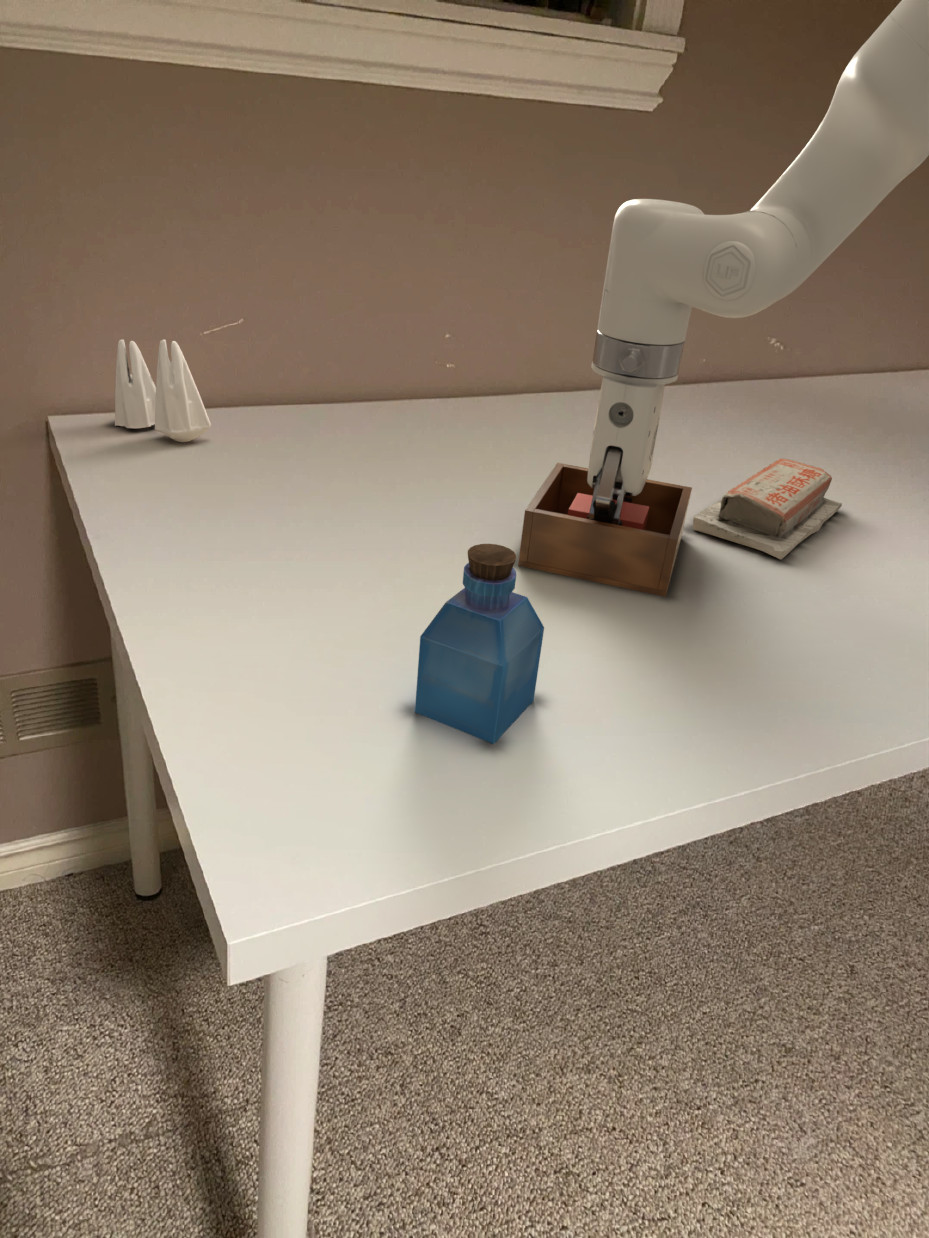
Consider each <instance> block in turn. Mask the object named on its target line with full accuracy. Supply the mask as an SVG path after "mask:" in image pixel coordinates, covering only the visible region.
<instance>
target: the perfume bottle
mask: <svg viewBox="0 0 929 1238" xmlns="http://www.w3.org/2000/svg"><path fill="white" fill-rule="evenodd" d="M467 559H468V563H466V564H465V565H464V566H463V572H462V573H463V574H462V575H463V576H462V585H463V587H464V588H462V589H461V590H460V591H458V592H457V593H455V594H454V595H453V596H452V597H450V598H449V599H447V600H446V601H445V603H444V604H443V605H442V607H441V608H440V609H439V611H438V612H437V613H436V614H435V616H434V617H433V618H432V620H431V621H430V623H429V624H428V625H427V627H426V628H425V629H424V631H423V632H422V634H421V635H420V637H419V647H418V648H419V649H418V663H417V664H418V665H417V674H416V675H417V676H416V691H415V704H414V713H416V714H417V715H419V716H422V717H425V718H427V719H430V720H433V721H435V722H437V723H440V724H443V725H445V726H447V727H450V728H453V729H455V730H457V731H460V732H463V733H464V734H467V735H470V736H472V737H475V738H478V739H480V740H483V741H485V742H487V743H490V744H493V745H495V744H496V743H497V742H498V740H499V739H501V738H502V736H503V735H504V733H506V732H507V731H508V730H509V728H510V727H511V726H512V725H513V724H514V723H515V722H516V721H517V720H518V718H520V717H521V715H523V713H524V712H525V711H526V710H527V709H528V708H529V707H530V705H532V704H533V702H534V700H535V694H536V689H537V680H538V673H539V667H540V659H541V652H542V646H543V641H544V640H543V639H544V634H545V633H544V632H545V626H544V624H543V623H542V621H541V619H540V617H539V616H538V614H537V612H536V610H535V608H534V607H533V605H532V603H531V601H530V600H529V598H528V596H525V595H522V594H519V593H516V592H514V590H515V589H516V580H517V571H516V569H515V568H514V565H515V563H516V561H517V554H516V553H515V551H514V550H512V549H511V548H509V547H506V546H504V545H501V544H497V543H479V544H474V545H473V546H470V547H469V548H468V549H467Z"/></svg>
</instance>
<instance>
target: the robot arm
mask: <svg viewBox="0 0 929 1238" xmlns="http://www.w3.org/2000/svg"><path fill="white" fill-rule="evenodd" d="M806 143H807V144H806V145H805V146H804V147H803V148H802V150H801V151H800V152H799V154H798V155H797V156H796V157H795V159H794V160H793V161H792V162H791V163H790V165H789V166H788V167H787V168H786V169H785V171H784V172H783V173H782V174H781V176H779V178H778V179H777V180H776V181H775V182H774V183H773V184H772V185H771V187H770V188H768V190H767V191H766V192H765V193H764V195H763V196H762V197H761V198H760V199H758V201H757V202H756V203H755V204H754V206H753V207H751V209H750V210H747V211H743V212H740V213H732V214H705V212H703V211H702V209H700V208H699V207H697V206H695V205H692V204H689V203H684V202H680V201H674V200H673V201H672V200H666V199H665V200H664V199H656V198H655V199H654V198H634V199H633V198H632V199H630V200H627V201H625V202H623V203H621V205H620V206H619V207H618V208H617V211H616V213H615V215H614V218H613V219H614V220H613V224H612V229H611V237H610V243H609V249H608V255H607V263H606V267H605V276H604V283H603V288H602V289H603V290H602V296H601V302H600V308H599V315H598V322H597V329H596V336H595V341H594V348H593V355H592V361H591V366H590V367H591V370H592V371H593V372H594V373H595V374H597V375H599V376H601V377H602V380H601V385H600V390H599V396H598V401H597V407H596V414H595V419H594V426H593V431H592V439H591V445H590V452H589V459H588V467H587V468H588V477H587V482H588V484H589V485H590V486H591V487H592V488H593V487H594V486H595V487H594V492H593V497H592V502H591V507H590V512H589V515H588V516H587V519H590V520H595V521H600V522H605V523H610V524H615V525H620V526H622V523H623V521H620V517H621V512H622V507H623V502H628V503H632V498H630V497H625V496H631V493H632V496H636V495H638V494H640V493H641V492H642V489H643V487H644V485H645V482H646V480H647V479H648V477H649V474H650V472H651V469H652V465H653V461H654V460H653V459H654V453H655V446H656V440H657V435H658V431H659V425H660V418H661V413H662V409H663V408H662V407H663V401H664V394H665V387H666V385H669V384H672V383H675V382H677V380H678V377H679V372H680V367H681V362H682V356H683V352H684V347H685V342H686V338H687V332H688V327H689V322H690V318H691V313H692V308H695V309H697V310H700V311H702V312H705V313H708V314H711V315H714V316H717V317H722V318H728V319H743V318H746V317H747V318H748V317H751V316H754V315H756V314H758V313H760V312H761V311H763V310H766V309H767V308H769V307H770V306H772V305H773V304H775V303H777V302H778V301H780V300H783V299H784V298H785V297H787V296H789V295H791V294H792V293H793V292H795V290H797V289H798V288H799V287H800V286H801V285H802V284H804V282H805V281H806V280H807V279H808V278H809V277H810V276H811V275H812V274H814V272H815V271H816V270H817V269H818V268H819V267H820V266H821V265H822V264H823V263H824V261H826V260H827V258H829V257H830V256H831V255H832V253H834V252H835V250H837V248H838V247H839V246H841V244H842V243H843V242H844V241H845V240H847V238H848V237H849V236H850V235H851V234H852V233H853V232H854V231H855V230H856V229H857V228H858V227H859V226H860V225H861V224H862V223H863V222H864V221H865V220H866V219H867V217H869V215H870V214H871V213H872V212H873V211H874V210H875V209H876V208H877V207H878V206H879V205H880V204H881V202H883V200H884V199H885V198H886V197H887V196H888V195H889V194H890V193H891V192H892V191H893V190H894V189H895V188H896V187H897V186H898V185H899V184H900V183H901V182H902V181H903V180H904V179H905V178H907V177H908V176H909V175H910V174H911V173H913V172H914V171H915V170H917V168H918V167H920V166H921V165H922V163H924V162H925V161H926V160H927V158H929V0H901V1H899V3H898V4H897V5H896V7H894V9H893V10H892V11H891V12H890V14H888V15H887V16H886V18H885V19H884V20H883V21H882V22H881V23H880V24H879V26H878V27H877V28H876V29H875V30H874V32H873V33H872V34H871V36H869V38H868V39H867V40H866V41H865V42H864V43H863V44H862V45H861V46H860V48H859V49H858V50H857V51H856V53H854V55H853V56H852V58H851V59H850V60H849V62H848V64H847V66H846V67H845V69H844V71H842V74H841V76H840V79H839V80H838V83H837V85H836V88H835V91H834V94H833V96H832V98H831V101H830V104H829V107H828V109H827V112H826V114H825V115H824V117H823V119H822V121H821V122H820V123H819V126H818V127H817V128H816V131H815V132H814V133H813V135H812V137H811V138H810V139H809V141H808V142H806ZM612 500H617V503H616V505H615V501H612Z"/></svg>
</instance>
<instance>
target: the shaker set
mask: <svg viewBox="0 0 929 1238" xmlns="http://www.w3.org/2000/svg"><path fill="white" fill-rule="evenodd" d="M128 343H129V344H128V345H129V346H128V348H129V349H128V350H129V359H128V354H127V347H126V343H125V339H123V338H122V339H119V340H118V343H117V347H116V348H117V349H116V361H115V363H116V364H115V384H114V385H115V386H114V387H115V388H114V389H115V390H114V427H116V426H120V427H125V428H126V429H143V428H144V429H145V428H149V427H152V426H154V430H155V431H156V432H159V433H161V434H163V435H164V436H166V437H168V438H169V439H171V440H173V441H174V442H175V441H176V442H178V443H187V442H191V441H193V440H196V439H197V438H199V437H200V436H202V435H204V433H205V432H206V431H208V430H210V428H211V427H212V423H211V421H210V418H209V414H208V413H207V410H206V408H205V404H204V402H203V400H202V397H201V395H200V392H199V390H198V387H197V384H196V382H195V380H194V377H193V375H192V372H191V370H190V367H189V365H188V363H187V360H186V358H185V356H184V353H183V350H182V349H181V347H180V345H179V344H178V342H177V341H175V340H172V341H171V342H170V352H171V353H170V357H171V360H170V357H169V350H168V346H167V340H166V339H161V340H159V344H158V352H157V366H156V377H155V378H156V381H155V382H154V379H153V378H152V375H151V373H150V371H149V368H148V366H147V363H146V361H145V358H144V357H143V354H142V352H141V350H140V348H139V346H138V344H137V343H136V342H135V341H134V340H130V341H129V342H128ZM128 360H129V361H130V366H129V361H128ZM130 369H131V371H130Z"/></svg>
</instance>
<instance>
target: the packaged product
mask: <svg viewBox="0 0 929 1238" xmlns="http://www.w3.org/2000/svg"><path fill="white" fill-rule="evenodd" d="M832 480H833V477H832V475H830V474H829V473H828V472H827V471H826V470H824V469H823V468H822V467H817V466H813V465H810V464H806V463H802V462H800V461H797V460H792V459H788V458H779V459H777V460H776V461H774V462H773V463H770V464H769V465H768V466H765V467H764V468H763V469H761V470H759V471H758V472H756V473H755V474H753V475H752V476H750V477H749V478H747V479H746V480H743V482H741V483H739V484H738V485H736V486H735V487H732V488H731V489H729V490H728V491H727V492H725V493H724V495H723V496H722V497H721V499H720V500H718V501H717V502H716V503H713V504H711V505H710V506H708V507H707V508H705V509H703V510H702V511H700V512H699V513H698V514H695V515H694V516H693V520H692V521H693V522H692V530H693V531H697V532H700V533H703V534H706V535H710V536H713V537H717V538H719V539H723V540H727V541H730V542H732V543H736V544H739V545H742V546H746V547H748V548H752V549H754V550H757V551H761V552H763V553H766V554H767V555H770V556H773V557H774V558H776V559H778V560H781V561H782V560H783V559H784V558H785V557H786V556H787V555H788V554H789V553H791V552H792V550H793V549H794V548H795V547H797V546H798V545H799V544H800V543H802V542H803V541H804V540H805V539H807V538H808V537H810V536H811V535H812V534H815V533H817V532H819V531H820V530H821V528H822V527H823V525H824V523H825V522H827V521H828V520H829V519H830V518H831V517H833V515H834V514H836V513H837V512H838V511H839V510H840V509H841V508H842V506H843V503H842V502H839V501H837V500H836V501H835V500H832V499H829V498H827V497H825V495H826V493H827V492H828V490H829V488H830V486H831V483H832Z"/></svg>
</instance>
